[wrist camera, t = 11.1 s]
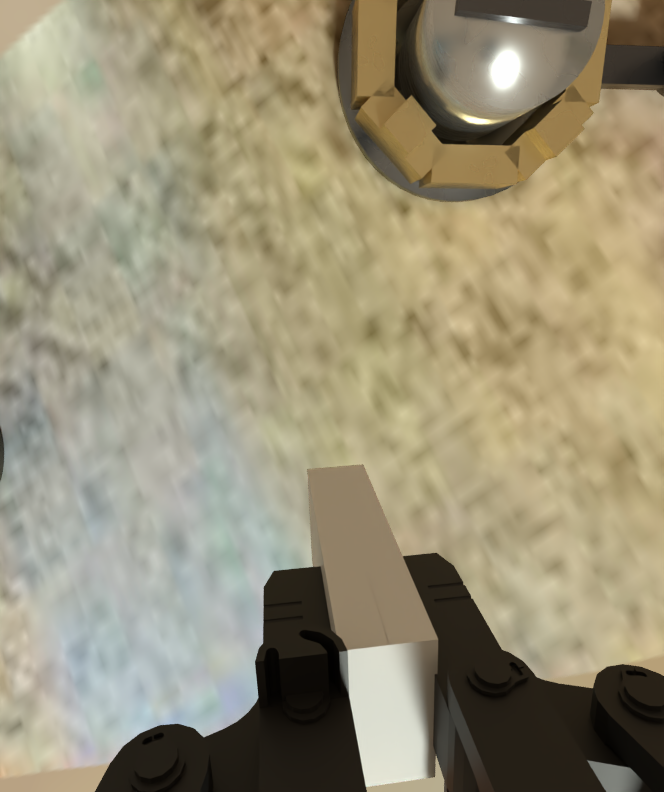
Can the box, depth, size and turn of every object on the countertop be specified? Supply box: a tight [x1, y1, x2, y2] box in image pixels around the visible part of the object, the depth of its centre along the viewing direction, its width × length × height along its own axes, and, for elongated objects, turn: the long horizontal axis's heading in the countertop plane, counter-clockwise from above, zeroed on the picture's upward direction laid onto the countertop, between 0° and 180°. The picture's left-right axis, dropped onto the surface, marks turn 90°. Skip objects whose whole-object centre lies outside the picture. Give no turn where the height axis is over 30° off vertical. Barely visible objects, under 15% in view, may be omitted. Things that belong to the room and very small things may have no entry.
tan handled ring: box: [351, 0, 664, 189], centre depth 29 cm, size 21×14×7 cm, turn 90°
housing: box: [337, 0, 605, 202], centre depth 28 cm, size 15×15×10 cm
